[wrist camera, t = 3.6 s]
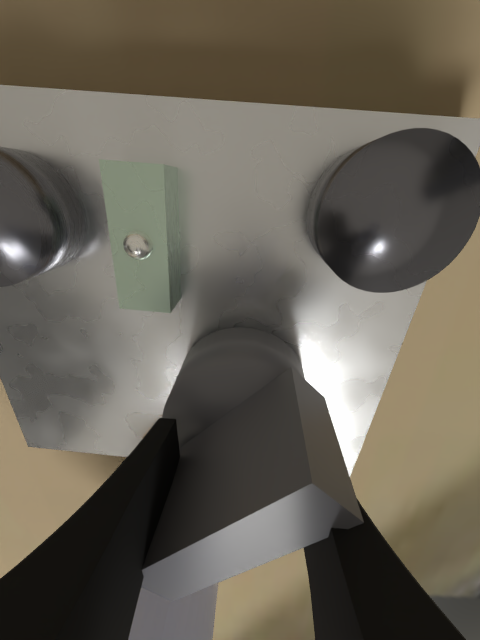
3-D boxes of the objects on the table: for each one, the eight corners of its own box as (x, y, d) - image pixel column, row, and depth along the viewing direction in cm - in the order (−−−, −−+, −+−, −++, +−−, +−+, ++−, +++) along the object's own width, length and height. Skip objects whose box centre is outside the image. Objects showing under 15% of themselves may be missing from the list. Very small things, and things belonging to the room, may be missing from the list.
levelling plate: (341, 458, 18) (361, 524, 14) (45, 427, 18) (-6, 484, 15) (458, 128, 10) (568, 96, 6) (-72, 90, 10) (-241, 41, 7)
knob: (338, 378, 13) (414, 561, 7) (181, 481, 17) (135, 652, 11) (250, 293, 11) (238, 426, 5) (100, 430, 15) (-8, 596, 9)
